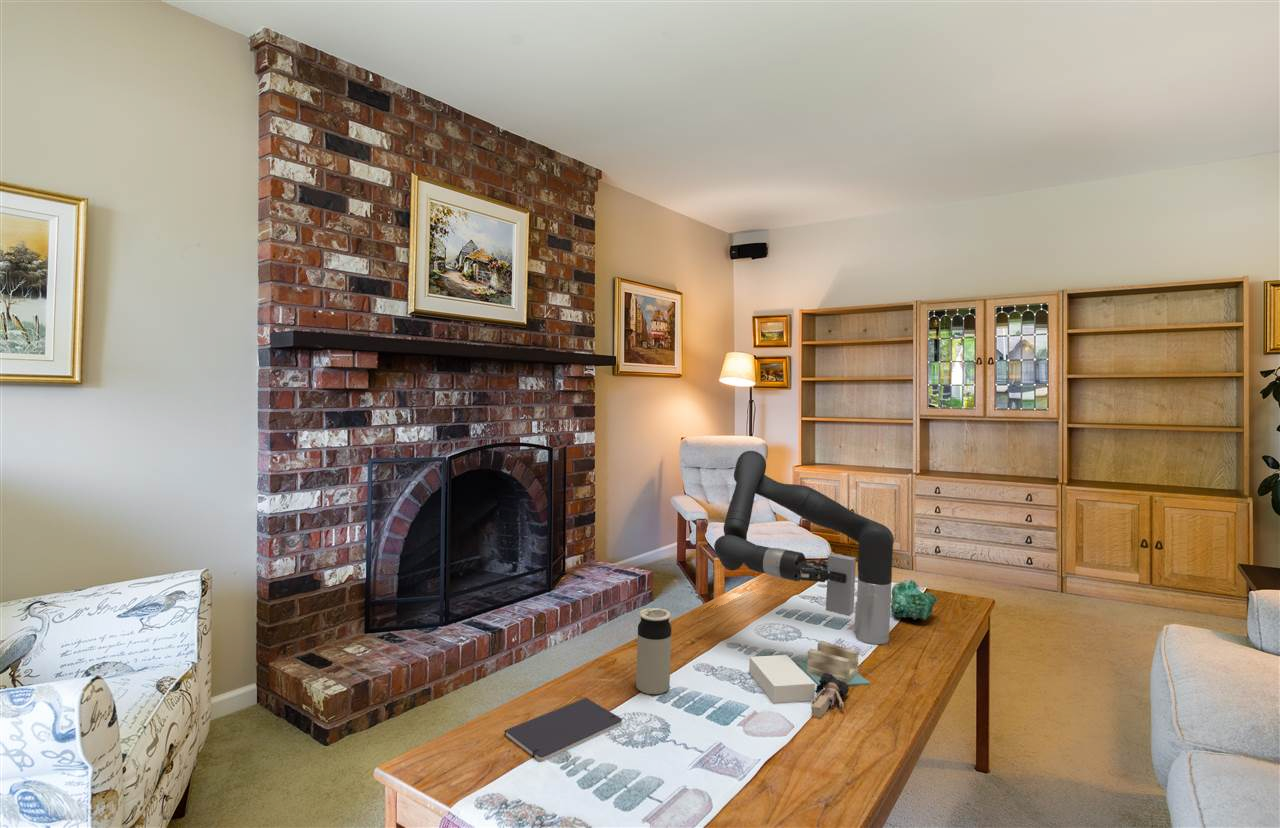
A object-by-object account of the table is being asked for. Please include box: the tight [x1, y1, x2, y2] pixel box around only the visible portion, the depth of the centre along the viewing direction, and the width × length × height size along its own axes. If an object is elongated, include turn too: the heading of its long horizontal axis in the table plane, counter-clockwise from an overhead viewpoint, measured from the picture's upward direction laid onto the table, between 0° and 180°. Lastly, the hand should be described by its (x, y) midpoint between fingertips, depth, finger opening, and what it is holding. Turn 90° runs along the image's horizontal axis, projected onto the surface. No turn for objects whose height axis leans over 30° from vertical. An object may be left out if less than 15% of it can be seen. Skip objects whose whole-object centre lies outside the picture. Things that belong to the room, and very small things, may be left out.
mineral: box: [890, 579, 938, 622], centre depth 208 cm, size 18×16×10 cm
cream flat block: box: [748, 654, 816, 704], centre depth 156 cm, size 16×10×4 cm, turn 11°
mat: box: [797, 661, 871, 687], centre depth 164 cm, size 13×13×1 cm
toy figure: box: [810, 672, 850, 719], centre depth 148 cm, size 7×6×15 cm
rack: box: [806, 641, 859, 684], centre depth 164 cm, size 10×9×6 cm
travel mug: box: [635, 607, 672, 695], centre depth 153 cm, size 8×8×18 cm
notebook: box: [504, 697, 623, 762], centre depth 134 cm, size 13×2×21 cm
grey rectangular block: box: [825, 552, 857, 617], centre depth 162 cm, size 6×3×14 cm, turn 53°
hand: (848, 577), depth 161 cm, fingers closed on grey rectangular block, 3 cm apart
